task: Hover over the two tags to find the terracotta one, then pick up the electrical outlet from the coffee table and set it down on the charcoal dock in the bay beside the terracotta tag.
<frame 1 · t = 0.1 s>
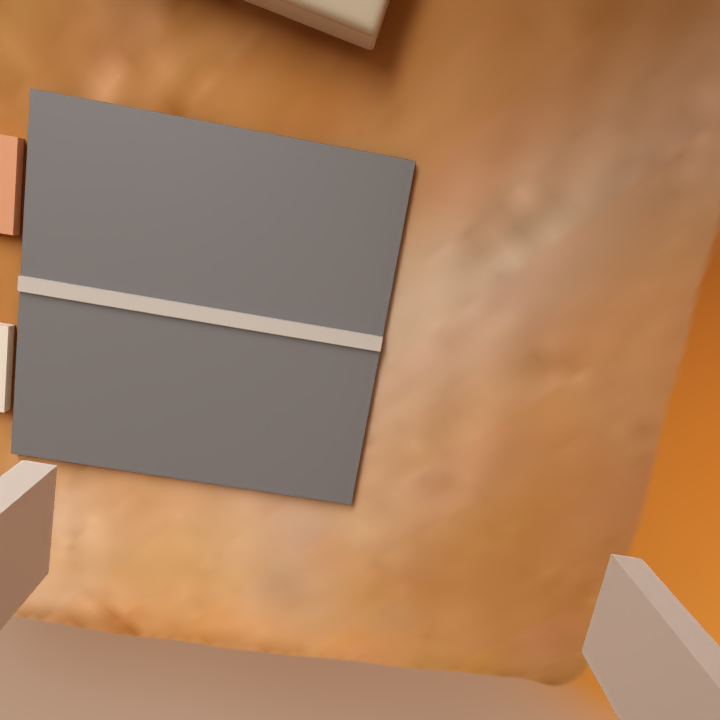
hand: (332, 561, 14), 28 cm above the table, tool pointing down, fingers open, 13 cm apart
dock: (206, 312, 41), on the table
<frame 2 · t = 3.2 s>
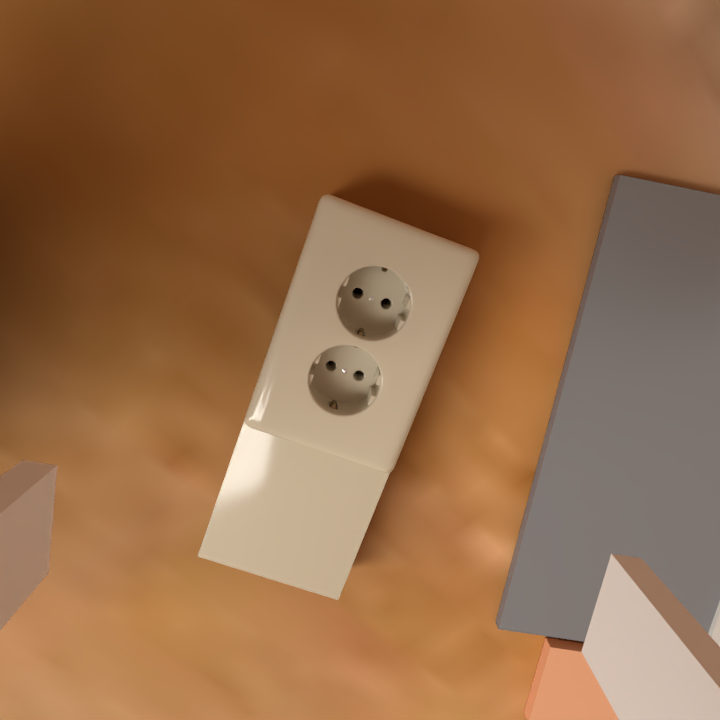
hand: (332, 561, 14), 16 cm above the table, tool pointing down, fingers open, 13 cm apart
electrical outlet: (332, 392, 31), on the table
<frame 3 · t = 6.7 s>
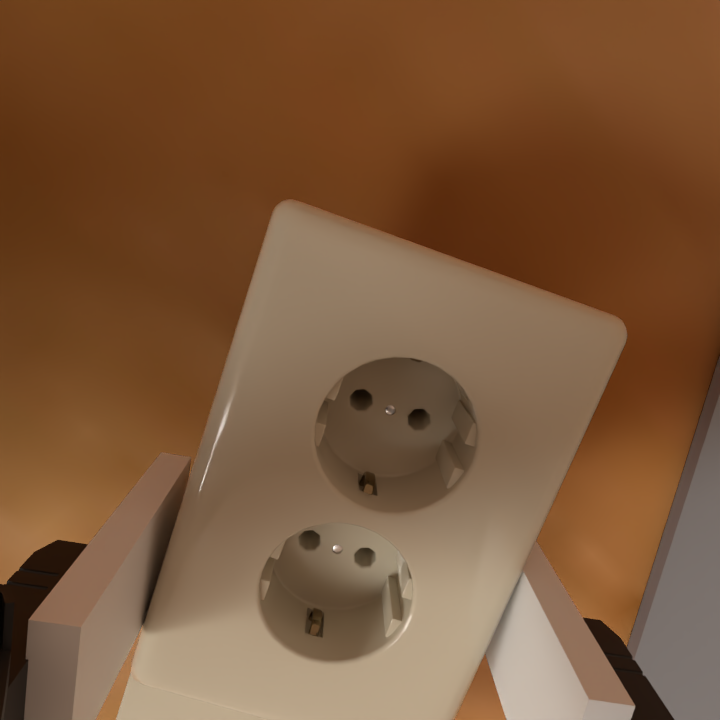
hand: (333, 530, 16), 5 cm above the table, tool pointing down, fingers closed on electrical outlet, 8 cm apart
electrical outlet: (317, 559, 17), point 4 cm above the table, touching gripper
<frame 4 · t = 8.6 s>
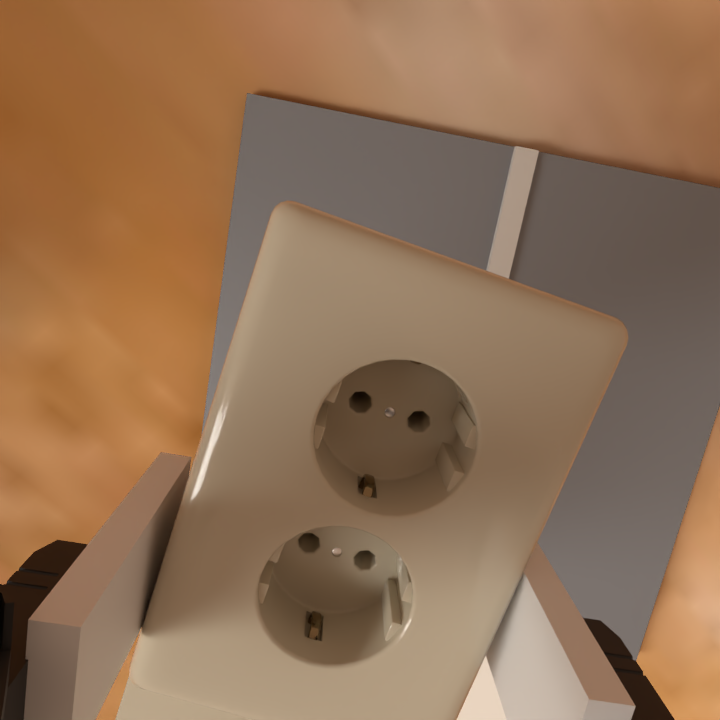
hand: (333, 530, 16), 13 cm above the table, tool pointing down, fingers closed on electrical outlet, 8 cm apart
electrical outlet: (316, 561, 17), point 13 cm above the table, touching gripper
dock: (462, 408, 29), on the table
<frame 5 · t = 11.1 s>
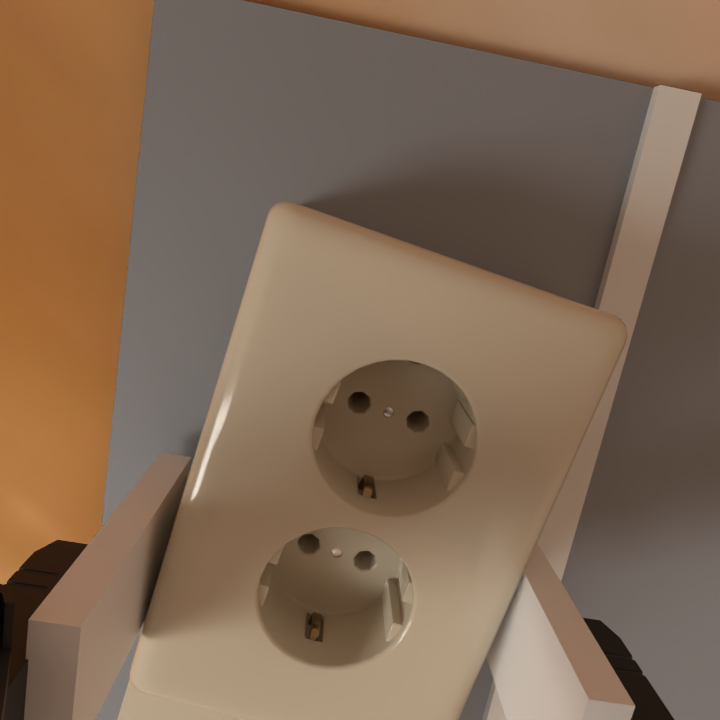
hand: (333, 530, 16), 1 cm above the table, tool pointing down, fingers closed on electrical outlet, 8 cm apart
electrical outlet: (316, 562, 17), resting on dock, touching gripper
dock: (539, 539, 17), on the table
when the fingers open (1 cm above the table, at t = 11.7 s): electrical outlet stays where it is, resting on dock.
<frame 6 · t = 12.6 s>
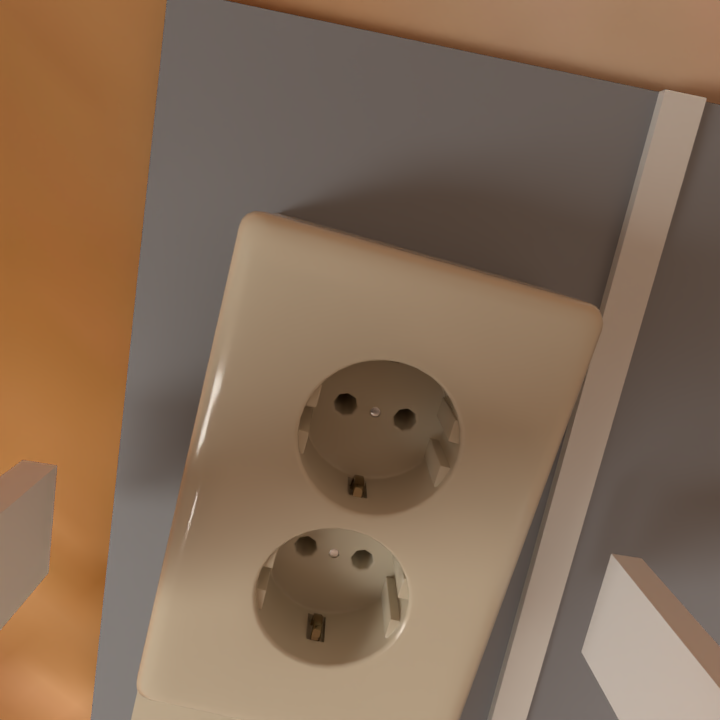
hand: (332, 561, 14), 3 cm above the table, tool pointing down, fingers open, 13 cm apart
electrical outlet: (319, 563, 17), resting on dock
dock: (544, 540, 17), on the table
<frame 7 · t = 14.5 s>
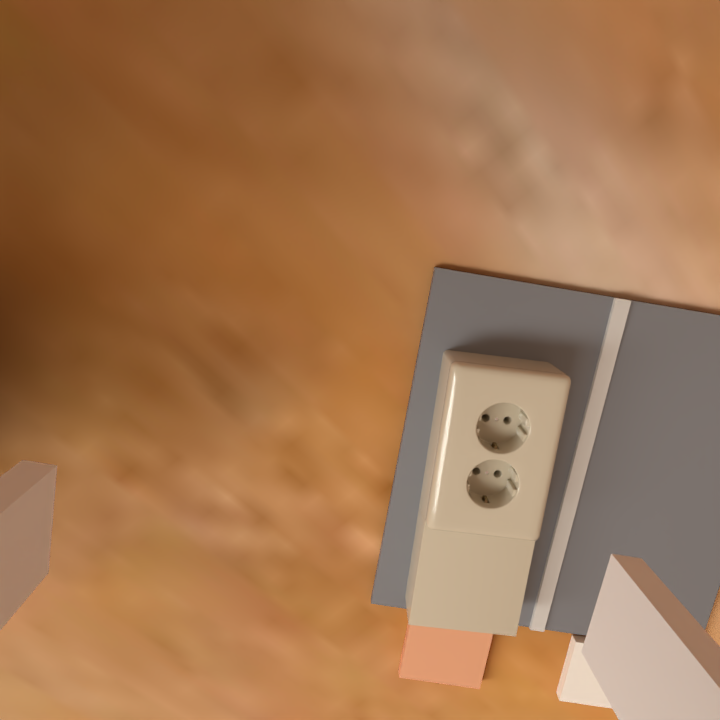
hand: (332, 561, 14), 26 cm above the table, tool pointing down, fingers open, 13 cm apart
electrical outlet: (475, 483, 41), resting on dock
dock: (573, 470, 41), on the table
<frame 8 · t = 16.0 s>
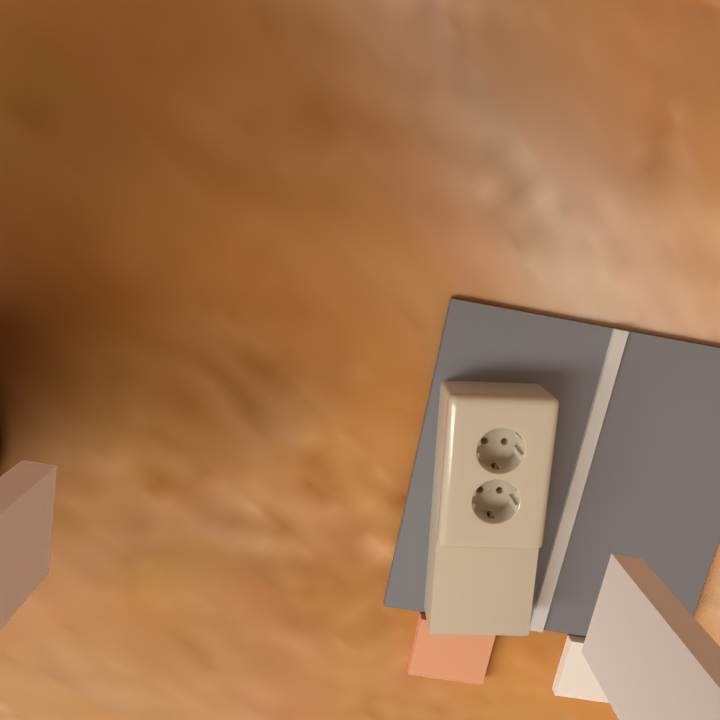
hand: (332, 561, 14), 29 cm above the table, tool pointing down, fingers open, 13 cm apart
electrical outlet: (479, 498, 45), resting on dock
dock: (572, 484, 45), on the table
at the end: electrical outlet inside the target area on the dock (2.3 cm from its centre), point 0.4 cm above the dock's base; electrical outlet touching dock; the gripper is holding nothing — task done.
